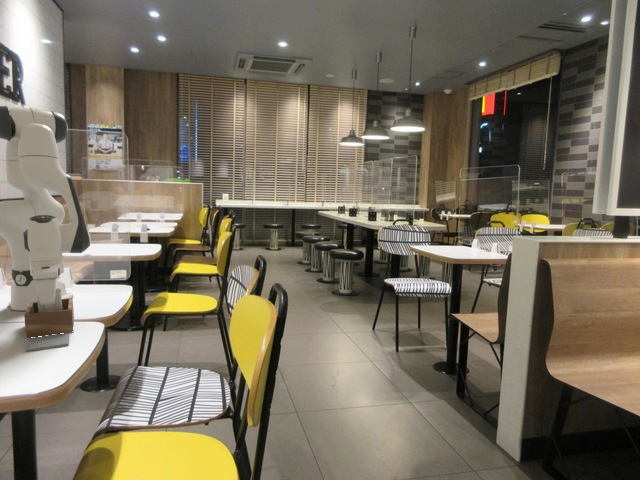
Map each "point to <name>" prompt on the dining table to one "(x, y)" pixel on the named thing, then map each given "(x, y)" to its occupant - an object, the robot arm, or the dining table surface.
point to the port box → (49, 320)
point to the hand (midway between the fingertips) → (50, 311)
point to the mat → (48, 342)
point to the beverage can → (56, 305)
